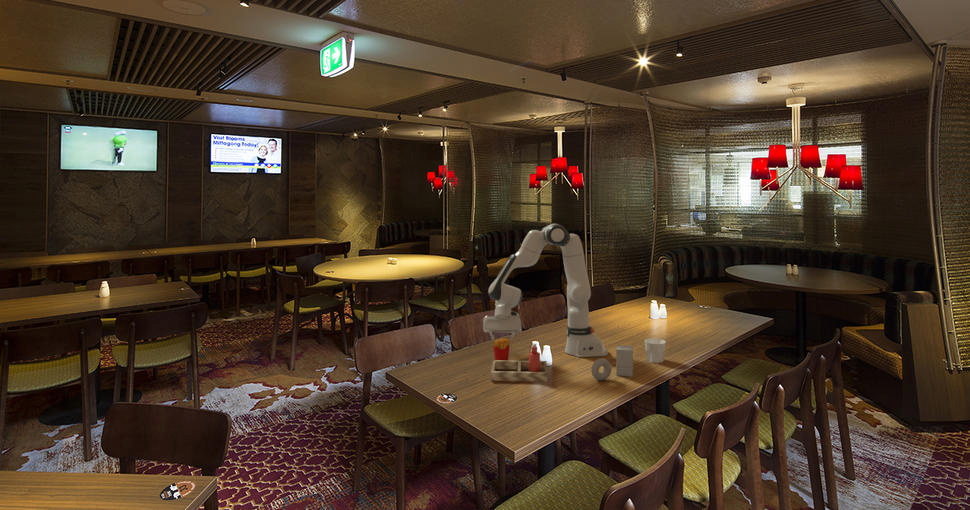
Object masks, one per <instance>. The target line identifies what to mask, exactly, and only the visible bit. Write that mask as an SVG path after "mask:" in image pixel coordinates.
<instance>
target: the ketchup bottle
mask: <svg viewBox="0 0 970 510" xmlns="http://www.w3.org/2000/svg"><path fill="white" fill-rule="evenodd" d="M528 361H529V370H528V372H541V370H540V361H541V353H540V352H539V351H538V346H537V343H532V346H531V352H529V353H528Z"/></svg>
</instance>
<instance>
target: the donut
mask: <svg viewBox="0 0 970 510" xmlns="http://www.w3.org/2000/svg"><path fill="white" fill-rule="evenodd" d="M601 367H603V370H602V372H600V368H601ZM590 369H591V372H590V373H591V375H592V376H593V378H594V379H595V380H597V381H605V380H607V379H608V378H609V377H610V376H611V373H612V365H611V362H610V361H609V360H608V359H606V358H598V359H596V360H595V361H594V362H593V363H592V365H591V368H590Z"/></svg>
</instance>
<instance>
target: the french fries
mask: <svg viewBox="0 0 970 510" xmlns="http://www.w3.org/2000/svg"><path fill="white" fill-rule="evenodd" d="M510 342H511V340H510V338H506V337H504V338H499V339H495V340H494V341H493V355H494V360H509V356H510V355H509V354H510V344H511V343H510Z"/></svg>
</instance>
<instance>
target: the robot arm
mask: <svg viewBox="0 0 970 510" xmlns="http://www.w3.org/2000/svg"><path fill="white" fill-rule="evenodd" d="M547 245H551V246H552V245H553V246H559V247H560V249H561V254H562V260H563V267H564V274H565V277H566V282H567V285H566V300H567V301H566V303H567V326H566V337H567V338H566V342H565V343H566V345H565V348H564V353H566V354H568V355H571V356H575V357H578V358H587V357H588V358H590V357H606V356H608V354H609V353H608V350H607V348H605V347H604V343H603V341H602V340H601V338H599V337H598V335H596V334H594V332H595V328H593V327H592V326H591V325H590V321H589V320H590V316H589V315H590V312H589V300H590V298H591V296H592V291H591V285H590V279H589V275H588V272H587V267H586V261H585V253H584V248H583V243H582V240H581V239H580V236H579V235H578V234H575V233H569V232H568V231H567V229H566V228H565V227H564V226H563V225H561V224H558V223H550V224H547V225H545V226H544V227H543V228H542V229H540V230H539V229H538V230H537V229H531V230H530V231H529V232H528V233H527V235H526V236H525V237H524V239H523V241H522V243H521V246H520V248H519V249H518V251H516V253H513V254H510V256H509V257H508V259H507V260H506V261H505V263H504V264H503V266H502V268H501V269H500V271H499V272H498V273H497V276H496V278H495V279H494V280H493V281H492V283H491V284H490V285H489V287H488V290H487V294H488V296H489V298H490V299H491V300H493V301H494V303H495V304H494V305H495V309H494V315H486V316H484V317H483V318H482V321H483V323H482V324H483V326H482V330H483V332H484V333H489V335H490V337H491V338H490V339H491V340H492V341H493V340H494V341H495V335H494V334H493V333H501V334H502V333H505V334H506V333H507V334H510V333H511V335H509V340H510V341H512V340H513V338H514V336H515V335H516V334H520V333H522V320H521V318H520V314H519V312H517V311H513V310H512V308H515V307H517V306H518V305H520V304H521V303H522V301H523V292H522V289H520V288H518V287H515V286H513V285H509V284H507V283H505V282H506V280H507V279H508V277H509V275H510V273H511V272H512V271H513V270H514V269H516V268H529V267H532V266H534V265H536V264H537V263H538V260H539V258H540V257H541V253H542V252H543V249H544V247H545V246H547Z"/></svg>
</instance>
